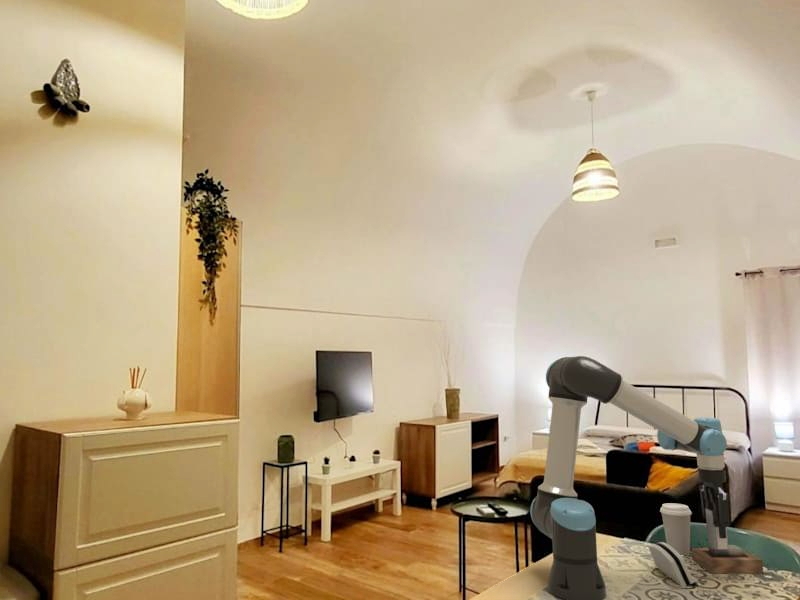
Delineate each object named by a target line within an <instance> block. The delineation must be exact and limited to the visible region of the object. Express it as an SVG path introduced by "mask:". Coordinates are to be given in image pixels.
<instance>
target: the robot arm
mask: <svg viewBox="0 0 800 600" xmlns="http://www.w3.org/2000/svg"><path fill="white" fill-rule="evenodd" d="M545 382H546V385H547V386H548V396H547V398H548V399H549V400H550V402H551V404H552V407H551V416H550V424H549V425H550V426H549V432H548V433H549V434H548V442H547V452H546V459H545V467H544V478H543V482H542V483H541V484H540V485H538V486H537V494H536V496H535V498H534V499H533V500H532V502H531V505H530V510H529V512H530V517H531V520H532V523H533V524H534V525H535V527H536V528H537V529H538V531H539V532H540V533H542V534H543V535H545V536H547V537H548V538H549V539H551V542H552V543H551V544H552V556H553V557H552V559H553V560H552V564H551V568H550V571H549V573H548V578H547V590H548V592H549V593H550V594H551V595H552V596H555V597H557V598H559V599H563V600H603V599H604V598H606V596H607V589H606V584H605V580H604V578H603V575H602V572H601V569H600V566H599V564H598V552H597V551H598V548H597V547H598V546H597V530H596V529H597V527H596V525H597V524H596V522H597V521H596V519H597V518H596V515H595V509H594V508H593V506H592V505H591V504H590V503H589V502H587V501H585V500H583V499H578V493H577V492H576V491H575V489H574V481H575V479H574V478H575V471H576V470H575V469H576V461H577V450H578V443H579V433H580V422H581V415H582V414H581V413H582V408H583V407H585V406H586V405H587V403H588V398H592V399H594V400H597V401H599V402H601V403H602V404H606V405H607V404H611V405H613V406H614V407H617V408H618V409H621V410H622V411H624V412H626V413H627V414H629V415H631V416H633V418H636V419H638V420H639V421H641V422H644V423H645V424H647V425H648V426H650V427H652V428H654V429H656V430H657V435H656V436H657V441H658V444H659V446H660V447H661V448H662V449H664V450H667V451H668V450H669V451H675V450H677V451H684V452H688V453H694V454H696V461H697V462H696V463H697V465H696V466H697V467H698V468H697V475H698V479H699V481H701V482H703V485H698V489H699V493H700V501H701V503H700V504H701V512H702V513H701V514H702V518H703V519H706V511H705V508H714V512H715V518H716V523H717V525H714V526H715V529H716V541H717V549H727V537H728V536H727V537H726V527H727V528H728V527H731V520H730V507H729V506H730V505H729V498H730V494H729V493H728V492H724V488H723V483H725V482H726V481H727V475H726V473H727V472H726V470H725V469H724V468H725V460H726V458H725V457H724V456H725V455H724V453H725V452H726V450H727V446H728V445H727V444H728V441H727V438H726V436H725V435H724V433H723V430H722V429H723V428H722V424H721V421H720V419H719V418H717V417H695V418H693V419H692V418H690V417H688V416H686V415H685V414H683V413H681V412H679V411H678V410H676V409H674V408H672V407H671V406H669V405H667V404H666V403H664V402H661V401H660V400H658V399H657V398H654V397H653V396H651V395H649V394H648V393H646V392H645V391H642V390H641V389H639V388H637V387H636V386H634V385H632V384H630V383H629V382H626V381H625V380H624V379H623V376H622V375H621V374H620V373H618V372H616V371H614V370H613V369H611V368H610V367H607V366H606V365H605V364H602V363H600V362H599V361H598V360H595V359H593V358H591V357H588V356H583V355H579V356H578V355H577V356H563V357H560V358H557V359H556V360H554V361H553V362H552V363H550V364H549V366H548V368H547V369H546V373H545Z"/></svg>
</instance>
